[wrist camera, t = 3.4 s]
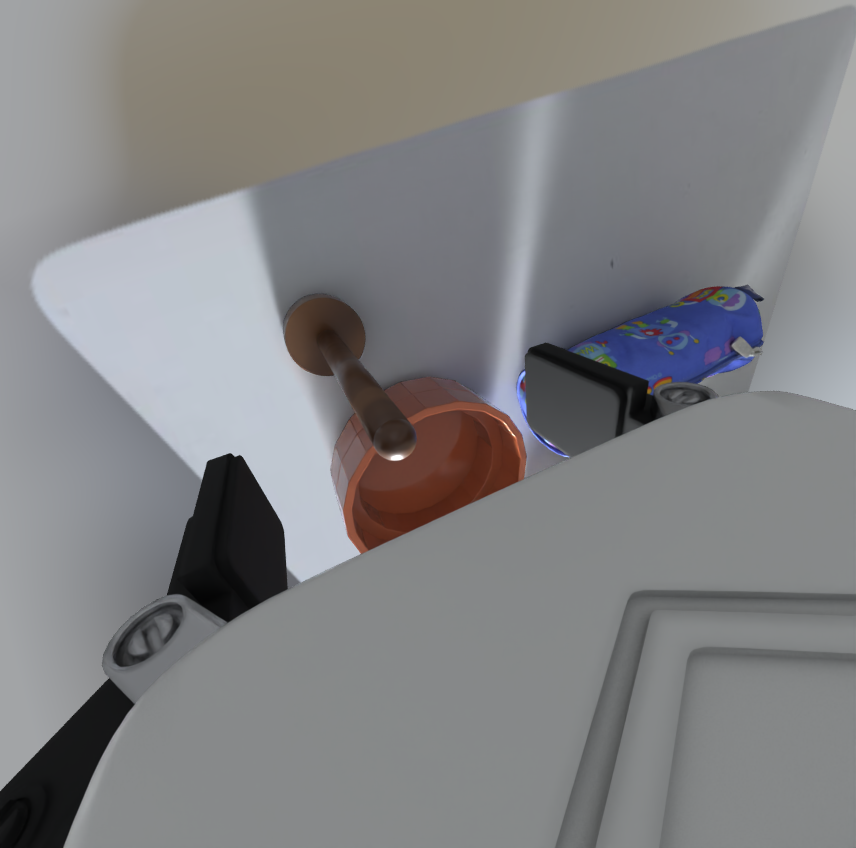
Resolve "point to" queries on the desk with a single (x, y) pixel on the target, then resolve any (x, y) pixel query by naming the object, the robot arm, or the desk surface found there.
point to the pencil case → (678, 341)
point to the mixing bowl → (425, 462)
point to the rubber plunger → (346, 368)
